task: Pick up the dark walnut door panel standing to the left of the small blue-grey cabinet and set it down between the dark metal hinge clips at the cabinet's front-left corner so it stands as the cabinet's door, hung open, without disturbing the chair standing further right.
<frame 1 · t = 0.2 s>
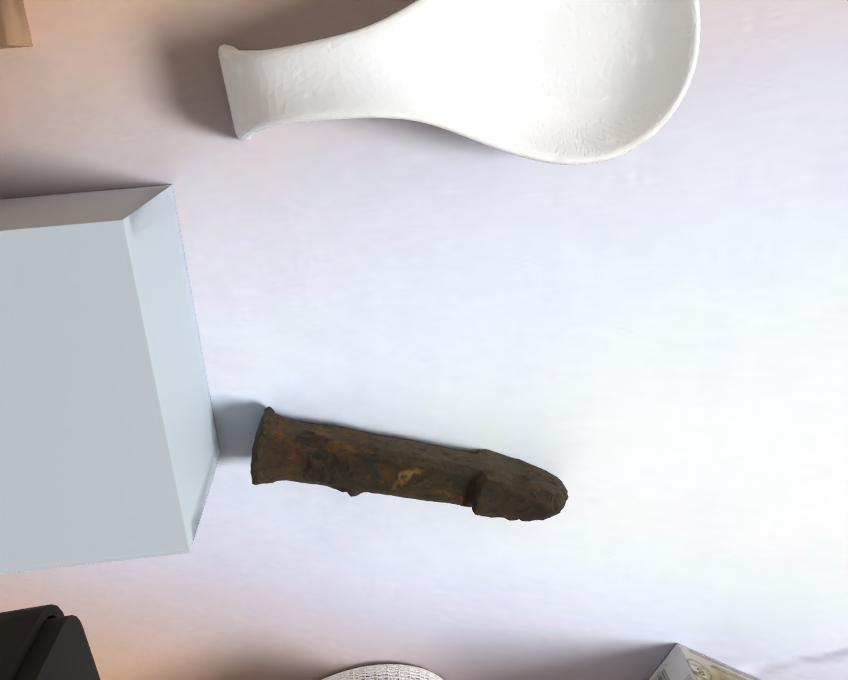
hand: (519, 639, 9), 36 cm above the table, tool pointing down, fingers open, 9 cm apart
hand tool: (413, 444, 49), on the table
spoon rest: (455, 61, 42), on the table
cabinet: (116, 335, 44), on the table
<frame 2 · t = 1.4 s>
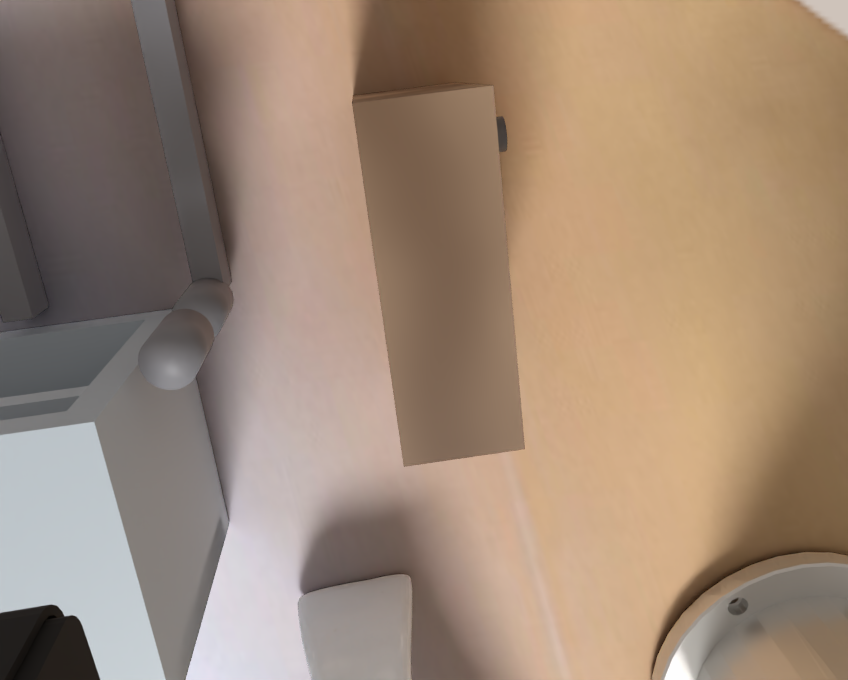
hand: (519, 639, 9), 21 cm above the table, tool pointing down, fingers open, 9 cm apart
door: (421, 233, 29), on the table
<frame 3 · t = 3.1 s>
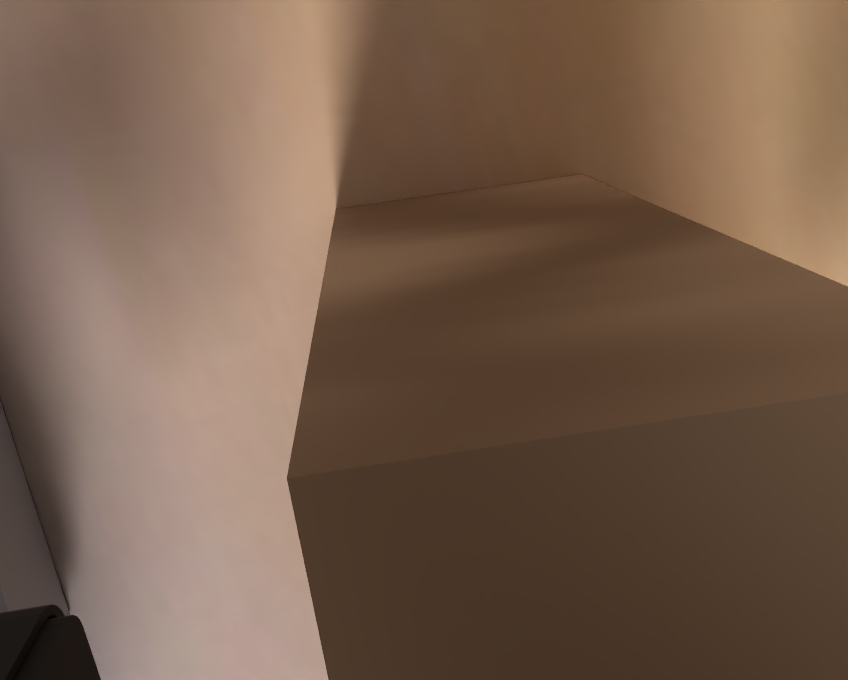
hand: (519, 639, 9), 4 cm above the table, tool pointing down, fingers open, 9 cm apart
door: (494, 500, 13), on the table
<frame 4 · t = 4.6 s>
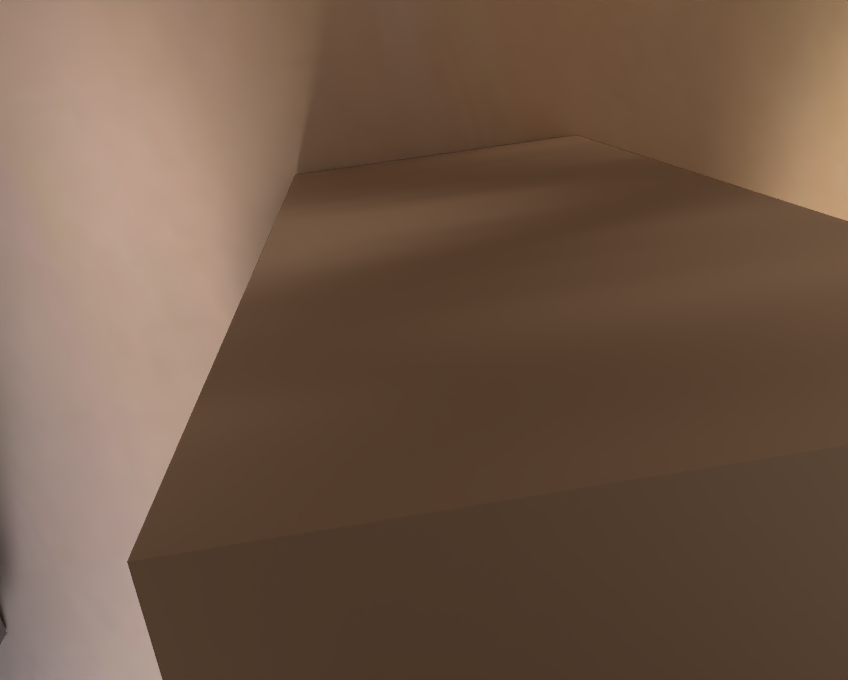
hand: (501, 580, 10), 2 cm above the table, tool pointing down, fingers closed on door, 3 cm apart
door: (478, 505, 11), on the table, touching gripper
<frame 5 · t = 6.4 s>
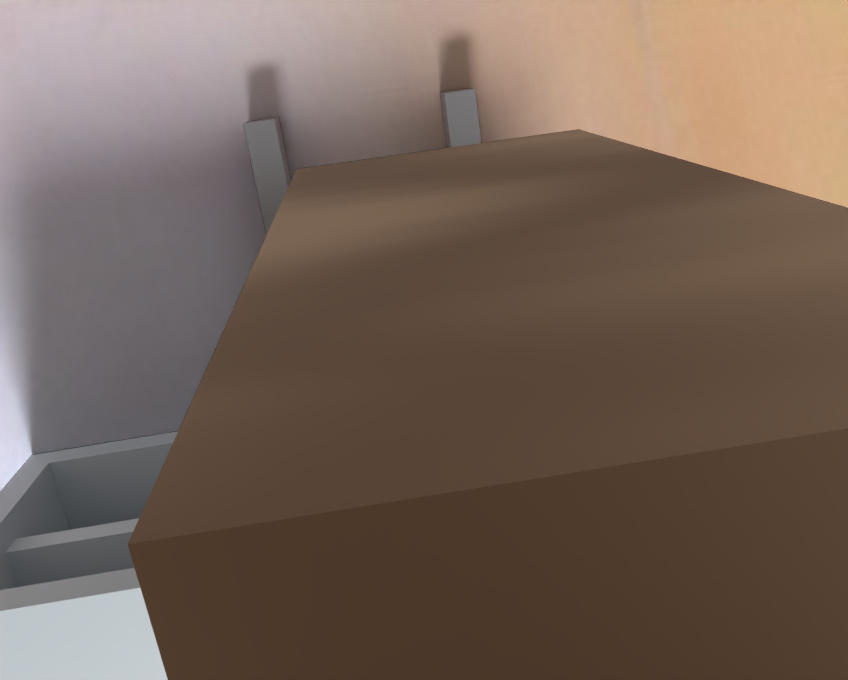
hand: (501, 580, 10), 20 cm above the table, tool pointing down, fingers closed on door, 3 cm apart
door: (480, 501, 11), point 18 cm above the table, touching gripper
cabinet: (267, 523, 32), on the table
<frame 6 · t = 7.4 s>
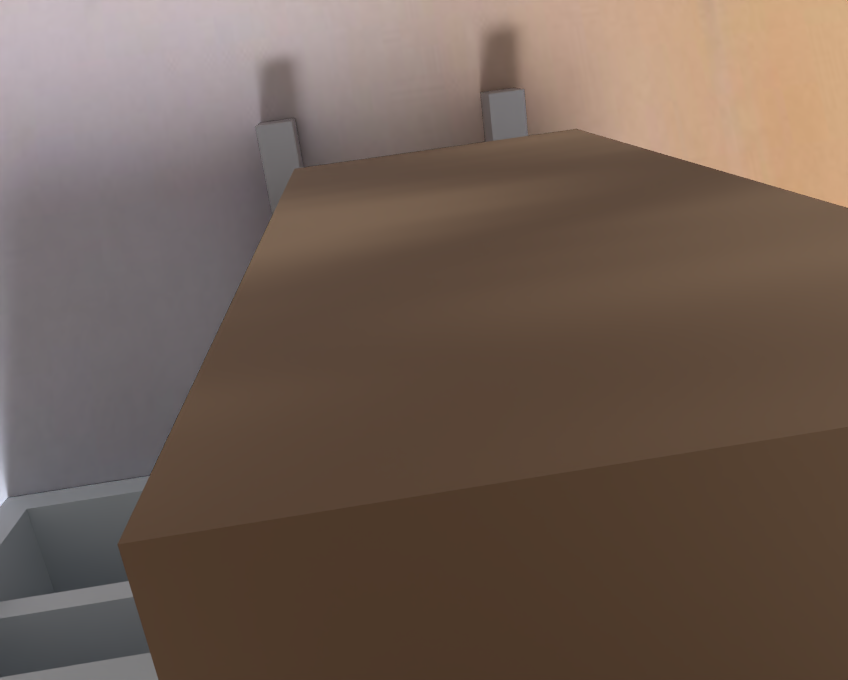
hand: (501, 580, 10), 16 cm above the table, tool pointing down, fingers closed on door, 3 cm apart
door: (478, 501, 11), point 14 cm above the table, touching gripper
cabinet: (274, 572, 28), on the table
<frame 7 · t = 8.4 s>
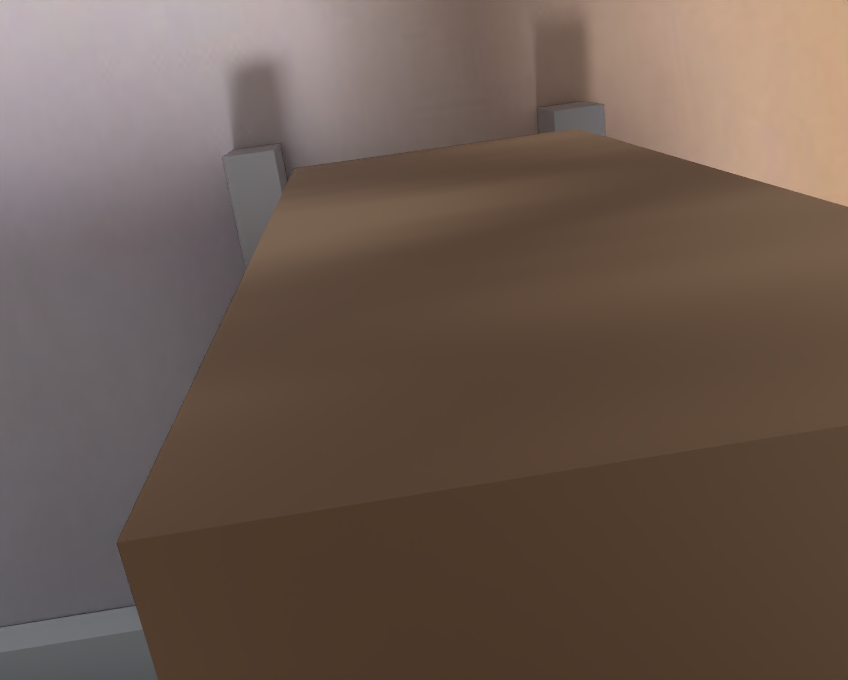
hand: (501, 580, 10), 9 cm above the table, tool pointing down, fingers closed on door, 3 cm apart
door: (478, 501, 11), point 7 cm above the table, touching gripper
when the fingers open (3 cm above the table, at t = 10.3 s): door stays where it is, resting in cabinet.
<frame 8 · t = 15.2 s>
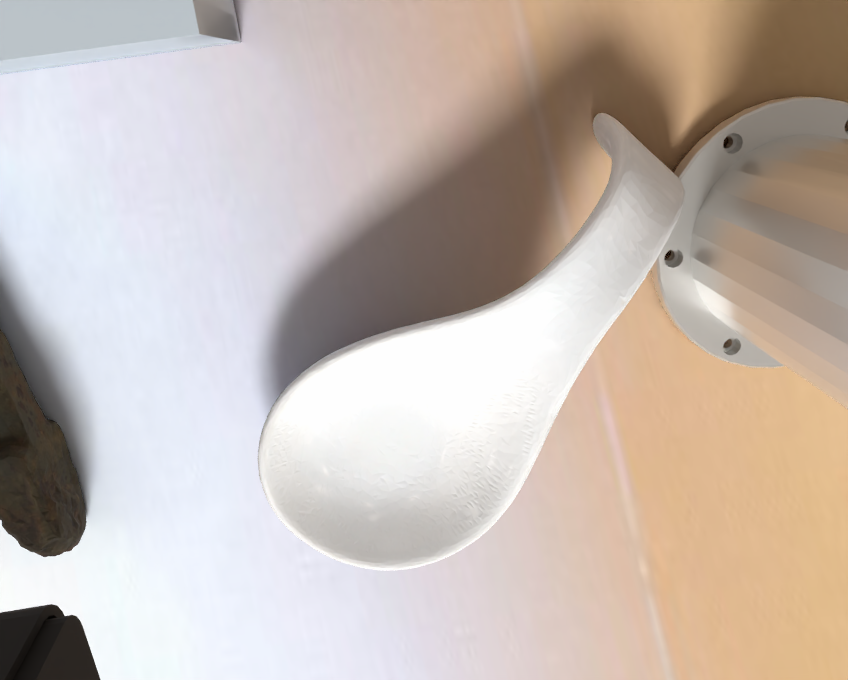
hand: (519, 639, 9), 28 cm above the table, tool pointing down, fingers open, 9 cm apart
hand tool: (6, 346, 36), on the table
spoon rest: (462, 335, 38), on the table
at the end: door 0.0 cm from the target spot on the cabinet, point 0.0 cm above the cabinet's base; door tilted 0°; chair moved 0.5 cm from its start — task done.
